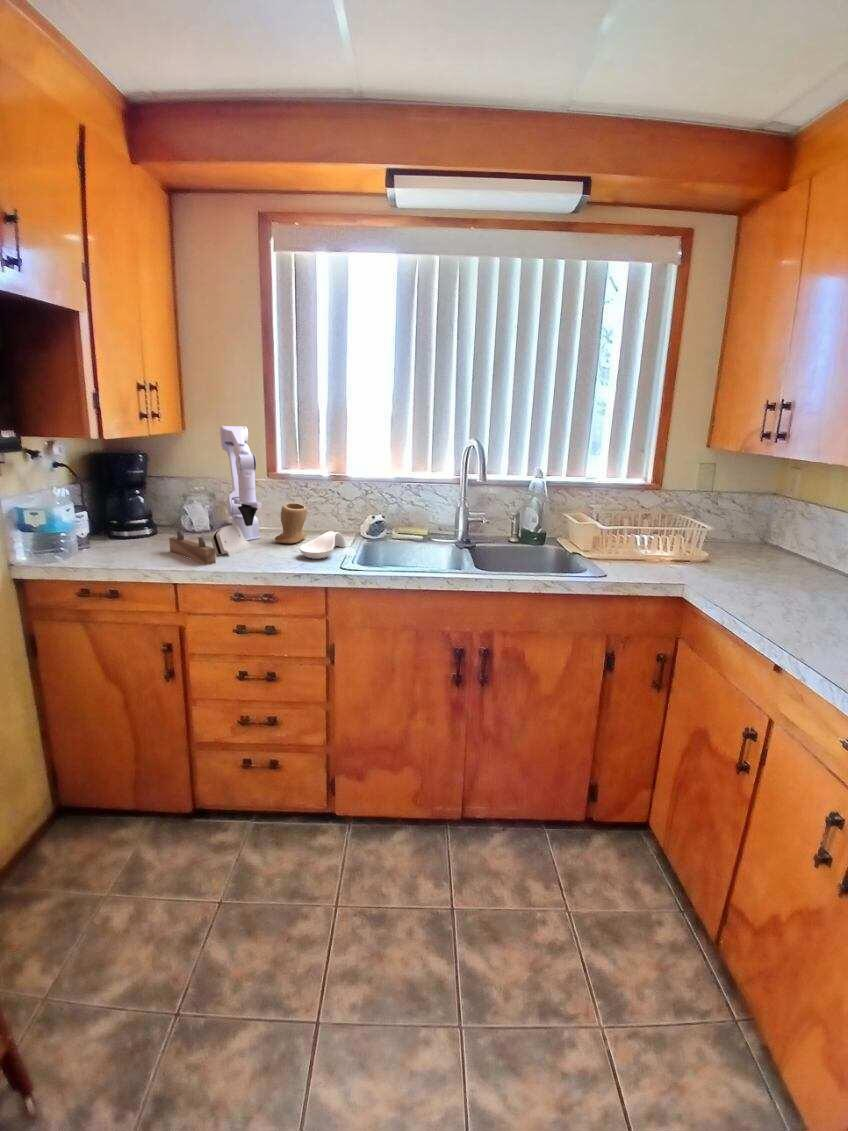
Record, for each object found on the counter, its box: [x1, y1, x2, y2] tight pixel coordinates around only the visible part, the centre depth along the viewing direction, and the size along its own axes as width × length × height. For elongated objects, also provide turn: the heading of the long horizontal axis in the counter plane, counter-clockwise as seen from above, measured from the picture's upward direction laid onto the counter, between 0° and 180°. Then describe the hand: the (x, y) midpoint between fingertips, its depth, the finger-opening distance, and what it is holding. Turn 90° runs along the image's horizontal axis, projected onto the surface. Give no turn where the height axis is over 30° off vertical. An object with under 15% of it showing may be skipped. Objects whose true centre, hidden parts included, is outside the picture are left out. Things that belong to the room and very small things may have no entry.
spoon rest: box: [299, 530, 347, 560], centre depth 202 cm, size 24×12×7 cm, turn 162°
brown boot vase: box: [274, 502, 308, 544], centre depth 218 cm, size 15×12×15 cm
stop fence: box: [168, 530, 217, 565], centre depth 190 cm, size 3×24×8 cm, turn 50°
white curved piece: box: [210, 525, 251, 557], centre depth 201 cm, size 17×5×10 cm, turn 171°
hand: (248, 525), depth 206 cm, fingers closed
